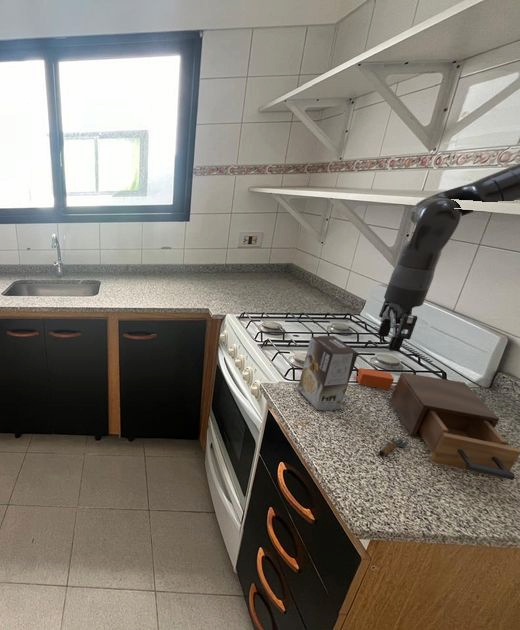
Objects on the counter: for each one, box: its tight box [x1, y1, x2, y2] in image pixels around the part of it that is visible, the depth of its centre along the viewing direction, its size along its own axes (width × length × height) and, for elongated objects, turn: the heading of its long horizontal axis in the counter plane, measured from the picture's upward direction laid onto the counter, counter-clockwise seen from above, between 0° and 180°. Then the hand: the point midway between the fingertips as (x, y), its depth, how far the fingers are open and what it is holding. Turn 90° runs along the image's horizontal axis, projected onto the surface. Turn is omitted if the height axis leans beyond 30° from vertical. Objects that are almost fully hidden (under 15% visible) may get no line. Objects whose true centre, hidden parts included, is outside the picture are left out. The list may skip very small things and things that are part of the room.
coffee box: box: [297, 335, 359, 411], centre depth 86 cm, size 9×6×16 cm
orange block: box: [355, 367, 395, 391], centre depth 94 cm, size 7×3×3 cm, turn 68°
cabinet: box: [389, 372, 500, 440], centre depth 79 cm, size 14×12×9 cm
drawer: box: [418, 409, 520, 481], centre depth 69 cm, size 17×11×7 cm, turn 158°
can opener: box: [378, 437, 408, 457], centre depth 73 cm, size 9×2×1 cm, turn 112°
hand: (387, 342), depth 90 cm, fingers open, 8 cm apart
